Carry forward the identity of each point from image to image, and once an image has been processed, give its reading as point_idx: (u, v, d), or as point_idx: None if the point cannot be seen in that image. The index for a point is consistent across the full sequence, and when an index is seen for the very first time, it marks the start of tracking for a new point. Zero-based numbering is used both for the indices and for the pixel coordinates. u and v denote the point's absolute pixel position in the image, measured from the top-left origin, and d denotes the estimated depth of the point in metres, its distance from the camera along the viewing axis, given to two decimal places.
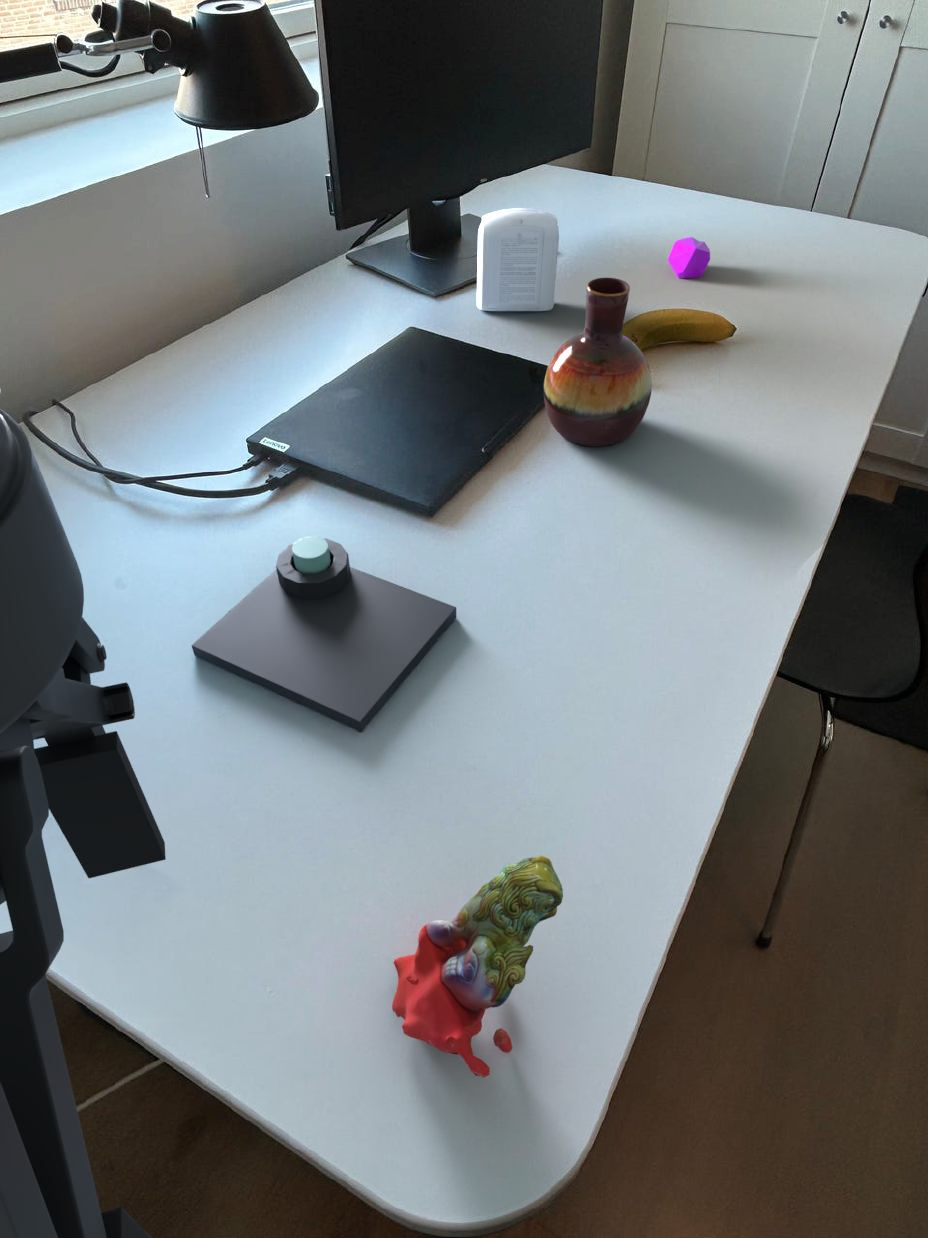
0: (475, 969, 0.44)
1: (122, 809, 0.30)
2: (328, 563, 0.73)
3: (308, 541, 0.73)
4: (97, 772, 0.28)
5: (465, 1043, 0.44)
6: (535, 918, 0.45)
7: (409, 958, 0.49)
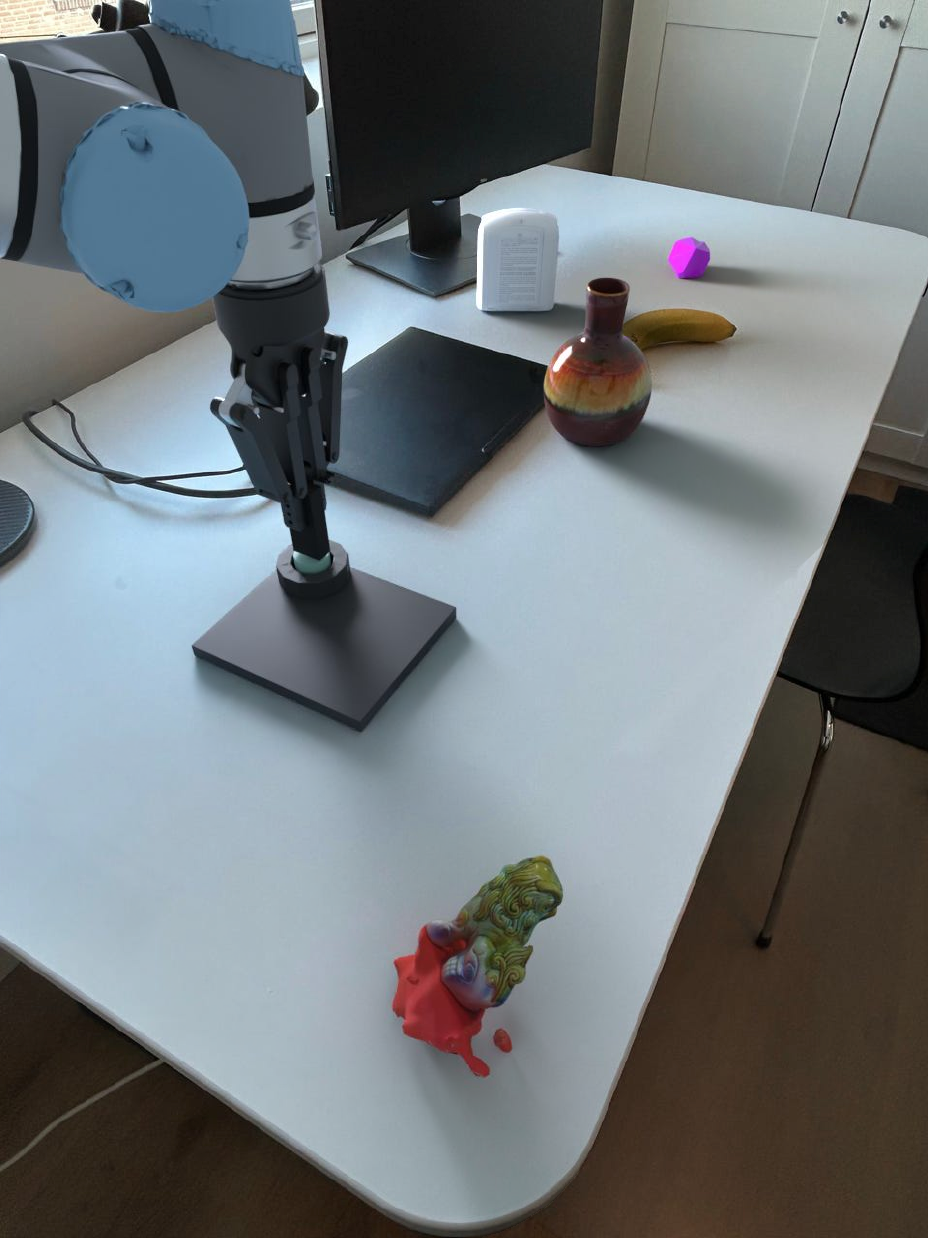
0: (475, 969, 0.44)
1: None
2: None
3: None
4: None
5: (465, 1043, 0.44)
6: (535, 918, 0.45)
7: (409, 958, 0.49)
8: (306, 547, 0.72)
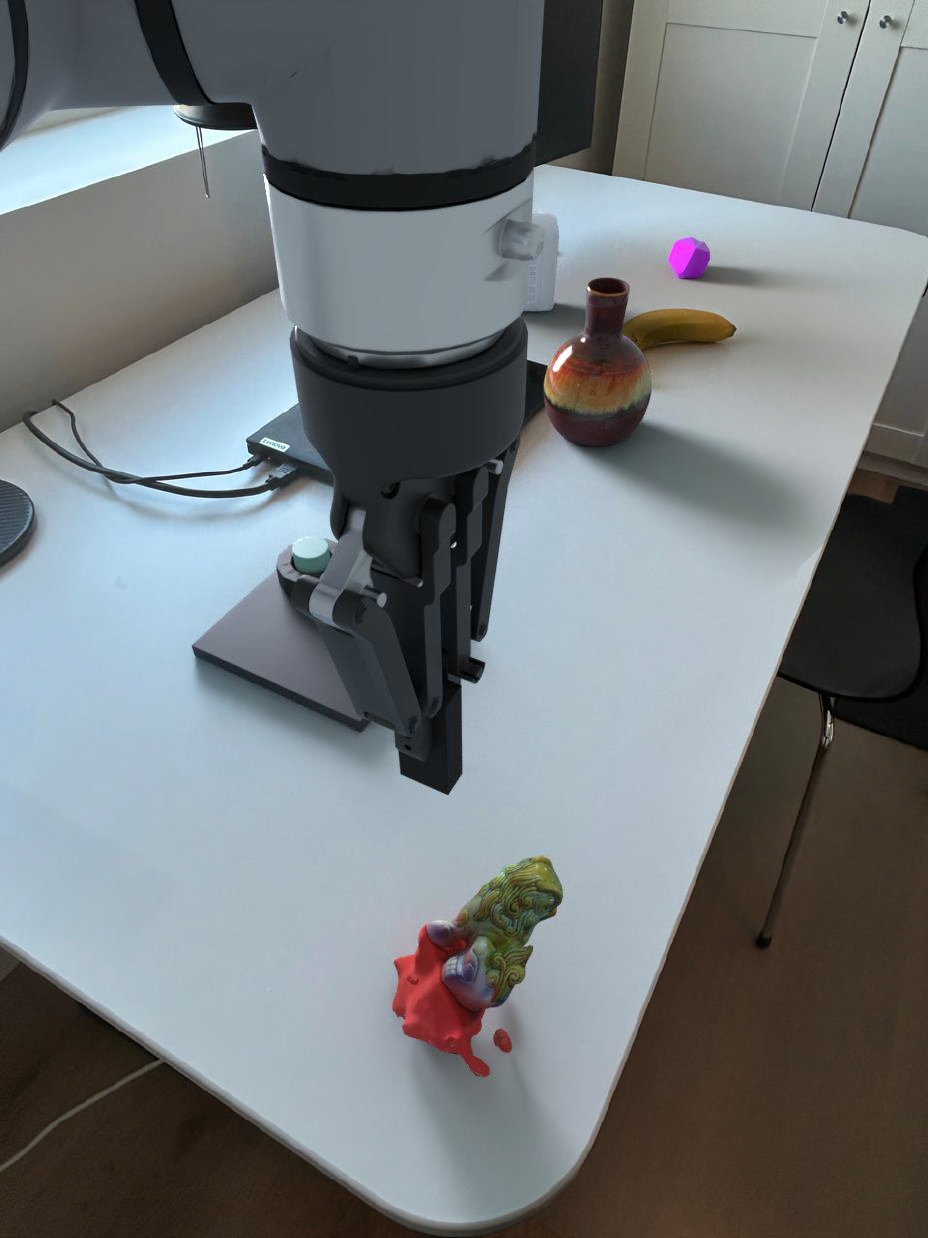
0: (475, 969, 0.44)
1: None
2: None
3: (308, 541, 0.73)
4: None
5: (465, 1043, 0.44)
6: (535, 918, 0.45)
7: (409, 958, 0.49)
8: (426, 774, 0.42)
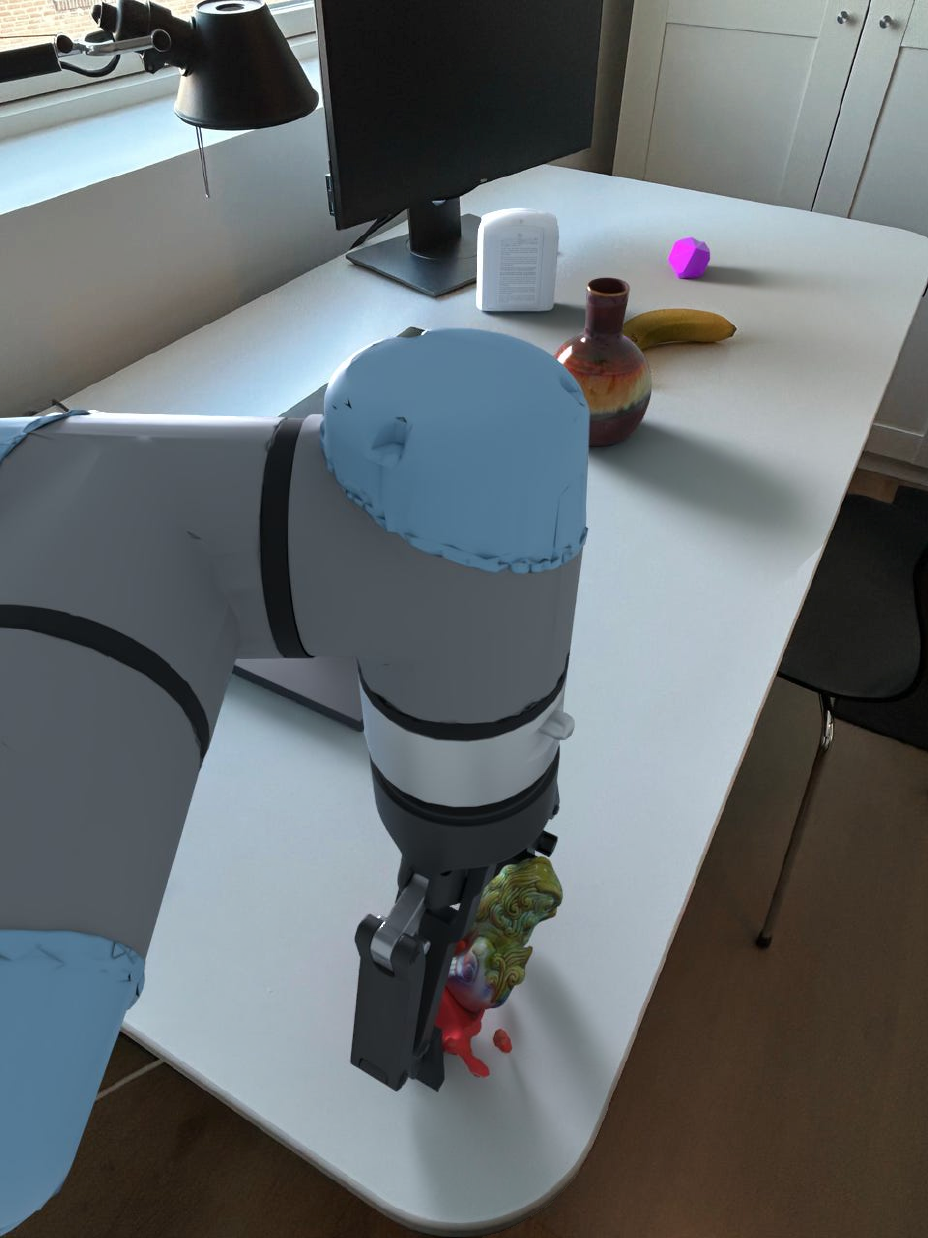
0: (475, 970, 0.44)
1: None
2: None
3: None
4: None
5: (465, 1044, 0.44)
6: (535, 919, 0.45)
7: None
8: (417, 1074, 0.45)
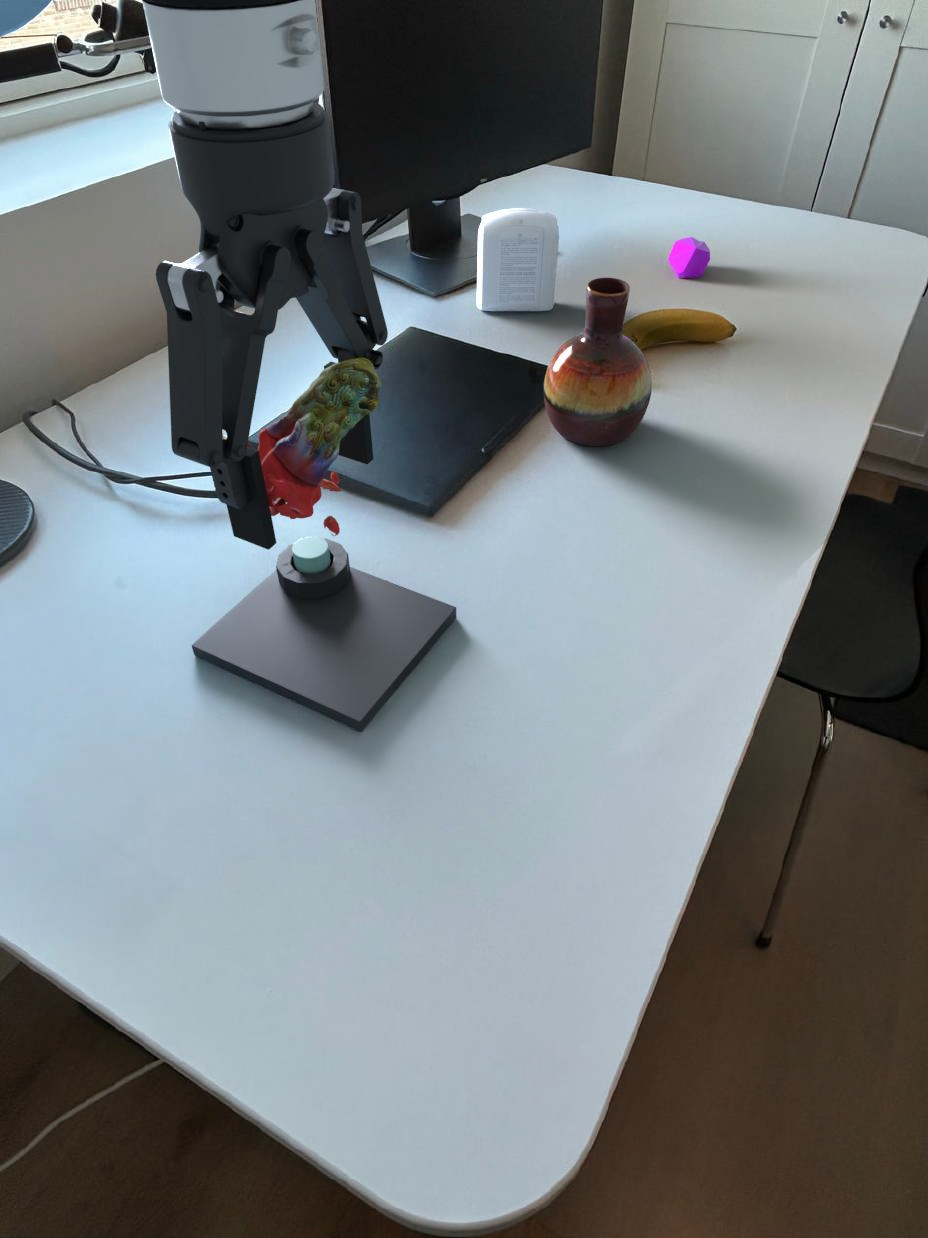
0: (298, 432, 0.51)
1: None
2: (328, 563, 0.73)
3: (308, 541, 0.73)
4: None
5: (286, 488, 0.51)
6: (352, 394, 0.52)
7: None
8: (250, 531, 0.52)
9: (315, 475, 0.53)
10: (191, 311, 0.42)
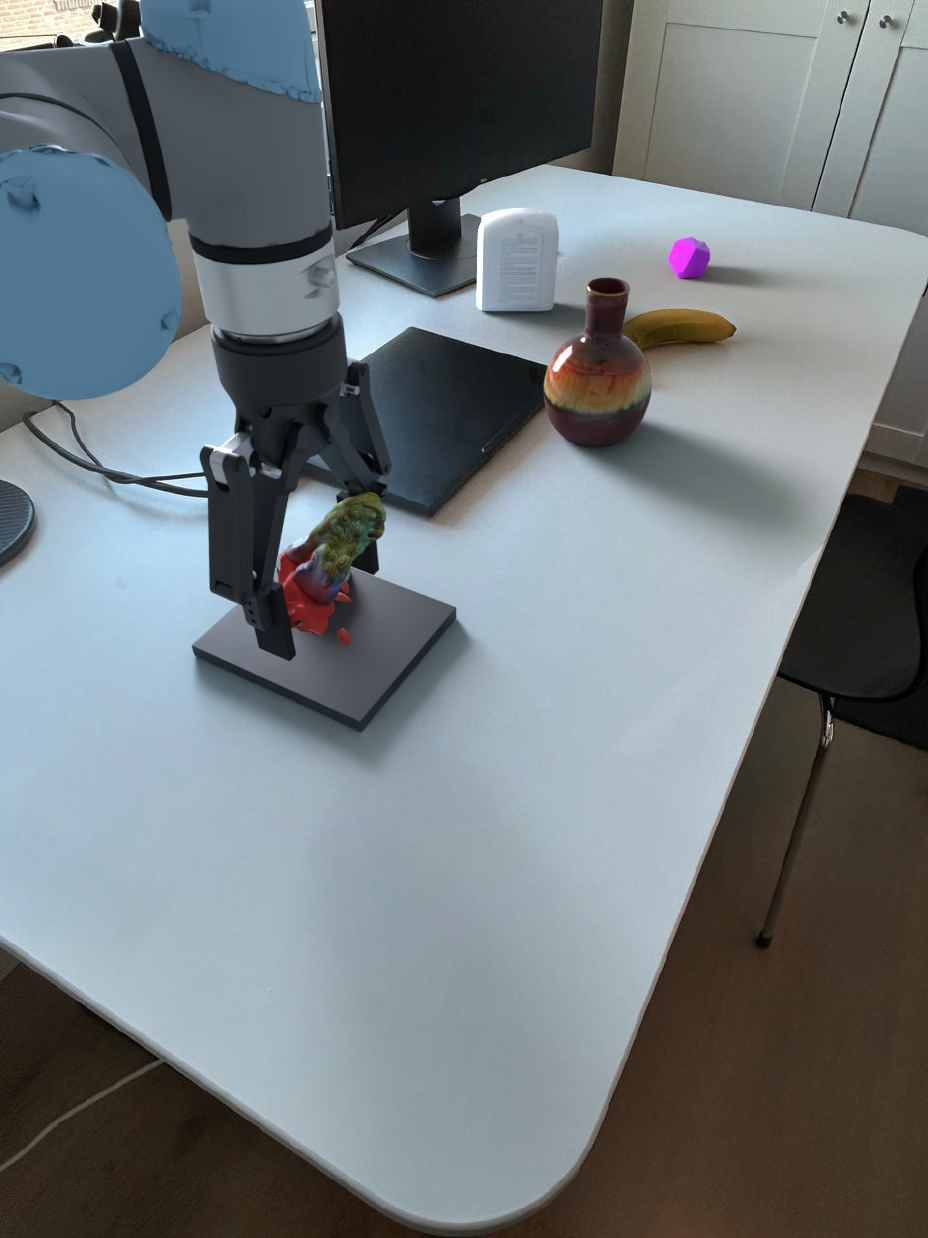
0: (315, 562, 0.60)
1: None
2: None
3: None
4: None
5: (305, 612, 0.59)
6: (361, 528, 0.60)
7: None
8: (273, 646, 0.61)
9: (330, 597, 0.61)
10: (229, 485, 0.50)
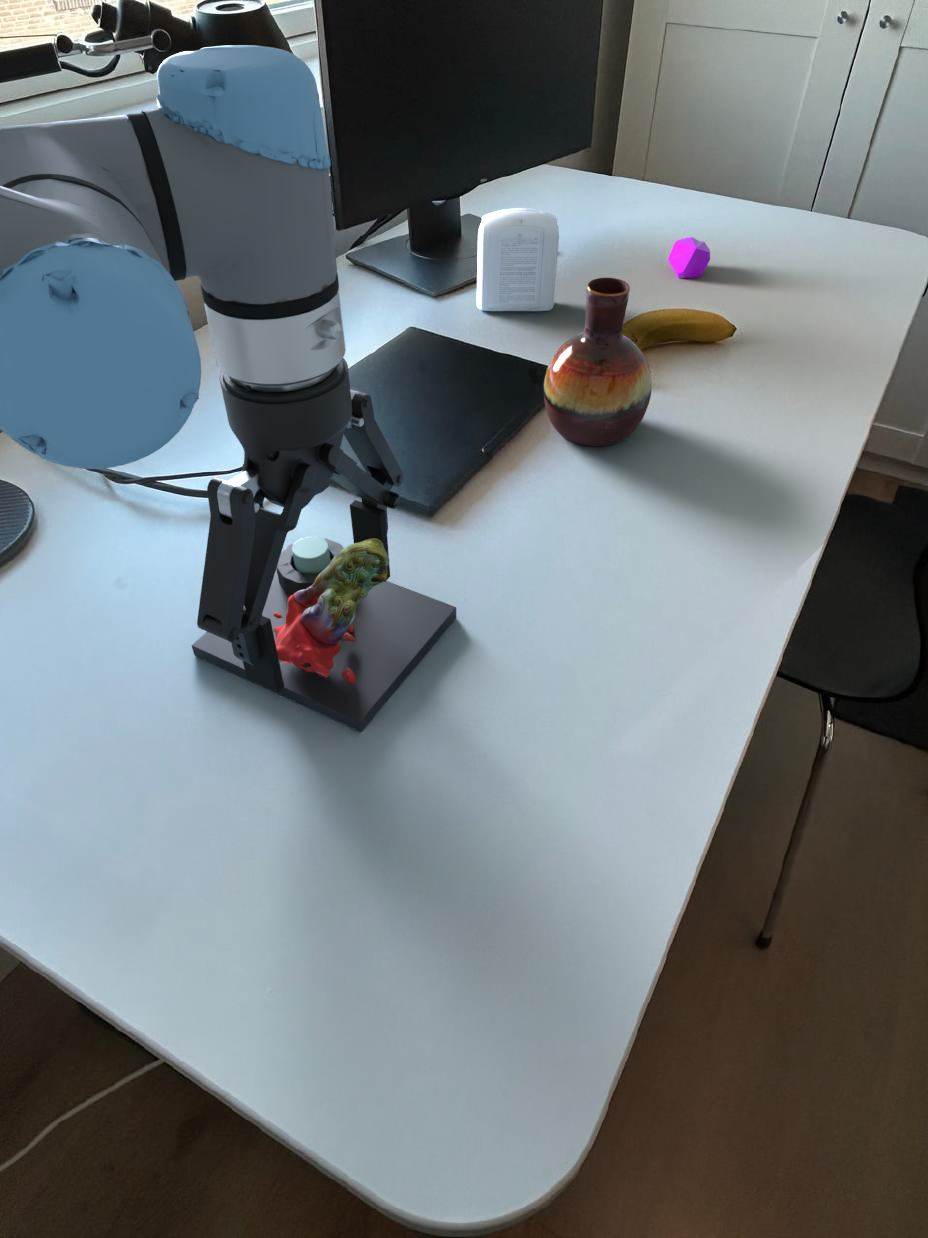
0: (321, 606, 0.62)
1: None
2: (328, 563, 0.73)
3: (308, 541, 0.73)
4: (371, 521, 0.66)
5: (312, 654, 0.62)
6: (366, 573, 0.63)
7: None
8: (262, 678, 0.61)
9: (335, 639, 0.63)
10: (232, 518, 0.51)
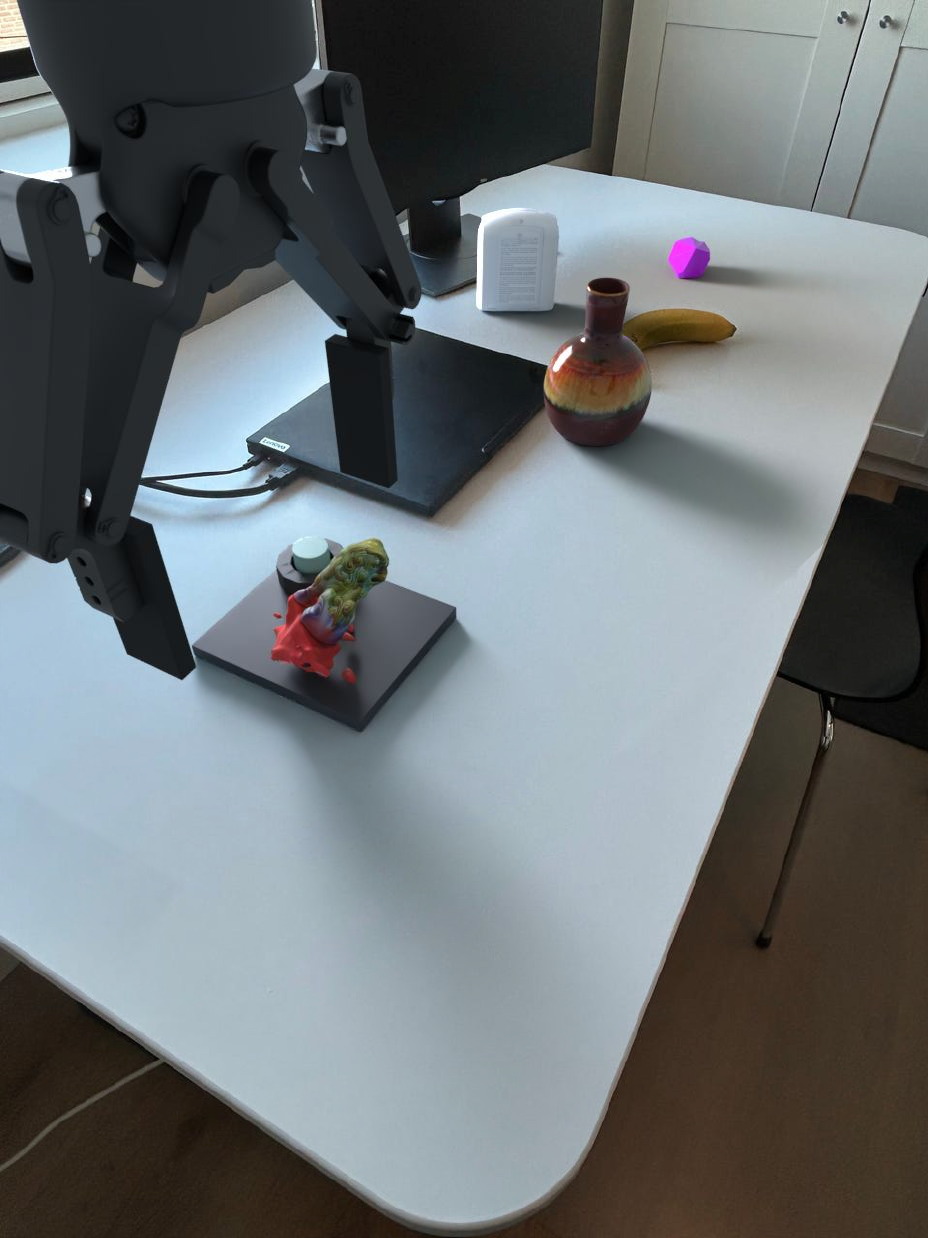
0: (321, 606, 0.62)
1: (371, 418, 0.38)
2: (328, 563, 0.73)
3: (308, 541, 0.73)
4: (363, 371, 0.37)
5: (312, 654, 0.62)
6: (365, 573, 0.63)
7: None
8: (150, 650, 0.31)
9: (335, 639, 0.63)
10: (32, 262, 0.22)
